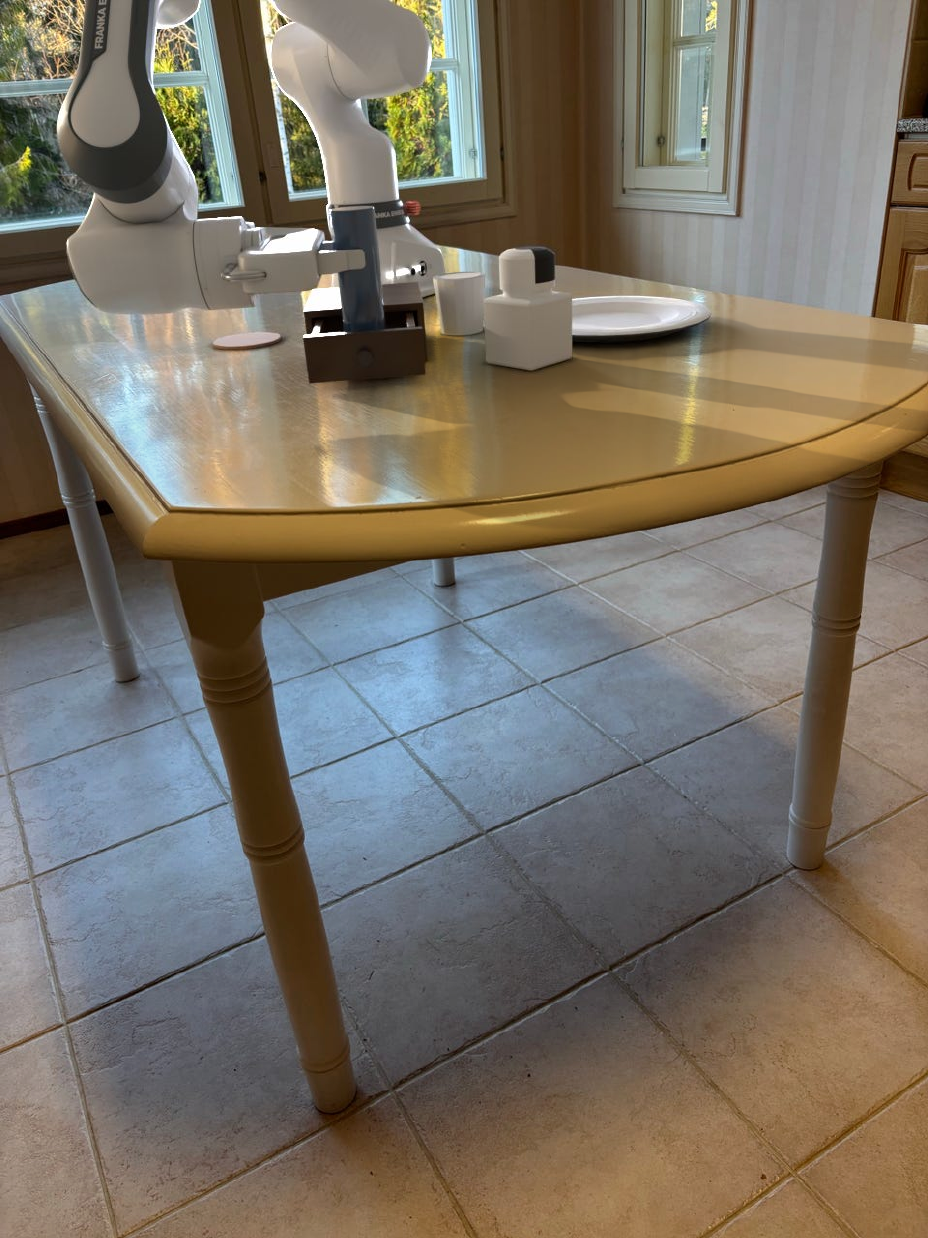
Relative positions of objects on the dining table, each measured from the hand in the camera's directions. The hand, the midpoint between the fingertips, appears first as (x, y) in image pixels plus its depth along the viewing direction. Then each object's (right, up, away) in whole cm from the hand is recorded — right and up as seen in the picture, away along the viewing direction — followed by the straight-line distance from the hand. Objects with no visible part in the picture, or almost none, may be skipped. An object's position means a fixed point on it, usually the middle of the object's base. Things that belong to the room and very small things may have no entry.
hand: (365, 254), depth 94 cm
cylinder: (0, -7, +4) cm, 9 cm away
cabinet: (-1, -5, +17) cm, 18 cm away
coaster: (-19, -1, +26) cm, 32 cm away
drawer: (0, -10, +7) cm, 12 cm away
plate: (+29, -1, +21) cm, 36 cm away
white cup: (+10, 0, +25) cm, 27 cm away
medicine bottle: (+18, -9, +8) cm, 22 cm away
